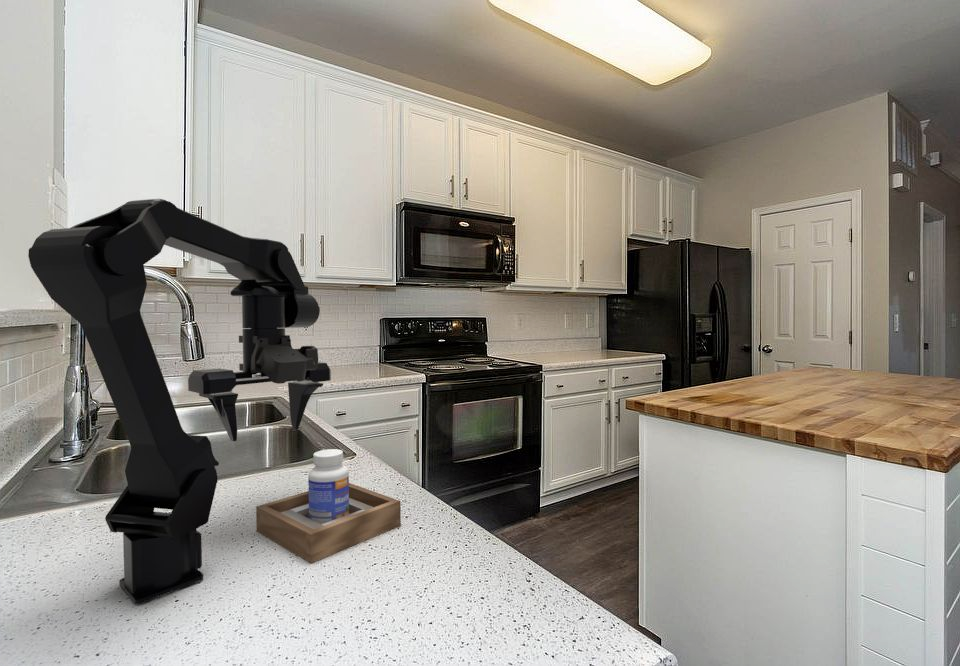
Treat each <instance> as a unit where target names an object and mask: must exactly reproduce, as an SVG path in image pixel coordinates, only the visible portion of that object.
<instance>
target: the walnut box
mask: <svg viewBox="0 0 960 666" xmlns="http://www.w3.org/2000/svg"><path fill="white" fill-rule="evenodd" d="M255 511H256V512H255V513H256V515H255V516H256V517H255V518H256V519H255V520H256V521H255V522H256V532H257V533H258V534H260V535H262V536H264V537H265V538H267V539H269V540H271V542H274V543H276V544H278V545H279V546H280V547H283V548H284V549H286V550H287V551H289V552H291V553H293V554H295V555H297V556H298V557H299V558H301V559H304V560H305V561H307V562H308V563H309V564H313V563H315V562H318V561H320V560H322V559H323V560H324V559H325V558H328V557H330V556H331V555H335V554H336V553H339V552H341V551H344V550H345V549H348V548H350V547H353V546H357V544H361V543H362V542H364V541H365V542H366V541H367V540H370V539H372V538H374V537H377V536H379V535H381V534H384V533H386V532H388V531H391V530H393V529H395V528H398V527H401V525H402V523H401V521H402V519H401V511H402V509H401V500H399V499H397V498H394V497H390V496H387V495H384V494H383V493H378V492H376V491H373V490H371V489H368V488H365V487H362V486H359V485H356V484H354V483H351V482H349V515H346V516H343V517H340V518H338V519H335V520H332V521H329V522H327V523H324V524H320V523H318V522H315V521H313V520H311V519H309V490H308V491H304V492H300V493H297V494H294V495H290V496H288V497H284V498H280V499H277V500H274V501H270V502H267V503H264V504H260V505H256V508H255Z"/></svg>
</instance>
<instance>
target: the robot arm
mask: <svg viewBox="0 0 960 666" xmlns="http://www.w3.org/2000/svg"><path fill="white" fill-rule="evenodd" d="M164 246H166V247H170V248H172V249H176V250H179V251H182V252H184V253H187V254H191V255H194V256H197V257H199V258H202V259H204V260H208V261H211V262H213V263H217V264H219V265H220V266H222V267H224V269H225V270H226V272H227V274H229V275H231V276H233V277H234V278H236V279H238V280H239V281H240V283H239V284H238V285H237V286H235V287H234V288H233V289H232V290H231V291H230V296H232V297H241V314H242V315H241V316H242V317H241V319H242V321H241V322H242V324H241V325H242V335H238V343H240V344H241V343H242V363H239V365H238V367H239V368H238V369H239V371H236V372H235V371H234V370H231V369H227V368H226V369H225V368H209V369H196V370H195V369H194V370H193V371H192V372H191V373H190V374H189V376H188V380H187V381H188V382H187V385H188V390H187V391H188V392H192V393H197V394H198V395H199V397H201V398H206V399H207V400H208V401H209V402H210V404H211V406H212V407H213V409H214V410H215V412H216V413H217V416H218V418H219V419H220V421H221V424H222V425H223V427H224V429H225V431H226V434H227V435H228V438H229V440H230V442H231V441H232V442H237V440H238V439H237V438H238V423H237V421H238V420H237V412H236V411H237V410H236V409H237V408H236V403H237V401H238V397H239V393H237V392H236V393H235V392H233V389H235V387H237V386H242V385H252V384H253V385H254V384H260V383H261V384H263V383H271V382H272V383H274V384H278V385H279V384H285V383H287V388H288V402H289V413H290V414H289V417H290V423H291V428H292V429H293V430H295V431H296V430H297V431H298V430H299V427H300V425H301V422H302V419H303V416H304V413H305V410H306V407H307V405H308V402H309V400H310V398H311V396H312V394H313V393H315V391H317V389H319V388H322V387H323V386H324V383H323V382H329V381H331V380H332V378H331V377H332V376H331V375H332V374H331V373H332V371H331V368H330V366H329V365H328V364H327V362H320V361H319V351H318V350H319V349H318V348H317V347H315V346H314V345H302V346H301V347H299V348H293V347H292V340H291V335H290V334H289V335H288V334H287V335H286V329H288V328H289V329H290V328H291V329H295V328H296V329H297V328H308V327H311V326H313V325H314V324H315V323H317V321H318V319H319V316H320V312H321V311H320V310H321V309H320V308H321V307H320V306H319V302H318V301H317V299H316V298H315V297H314V295H311V294H309V287H308V286H305V285H306V284H305V283H304V281H303V279H302V276H301V273H300V272H299V270H298V267H297V264H296V262H295V260H294V258H293V255H292V254H291V252H290V251H289V248H288V246H287V245H285V244H284V243H283V242H281V241H277V240H273V239H272V240H271V239H269V238H268V239H267V238H257V237H248V236H242V235H241V234H238V233H237V232H234V231H231V230H229V229H227V228H226V227H223V226H221V225H219V224H218V225H217V224H215V223H213V222H211V221H208V220H206V219H204V218H201V217H200V216H197V215H195V214H193V213H191V212H188V211H185V210H184V209H182V208H179V207H177V206H176V205H175V204H174V203H172V201H168V200H165V199H162V198H152V199H151V198H150V199H149V198H148V199H139V200H137V199H136V200H130V201H127V202H125V203H124V204H121V205H120V206H118V207H117V208H115V209H113V210H111V211H109V212H106V213H104V214H100V215H99V216H96V217H92V218H91V219H88V220H84V221H83V222H80V223H77V224H75V225H73V226H71V227H68V228H53V229H49V230H46V231H44V232H42V233H40V235H39V236H37V237H36V238H35V240H34V242H33V244H32V246H31V247H30V248H28V261H29V265H30V268H31V270H32V271H33V272H34V274H35V276H36V277H37V278H38V280H39V282H40V284H41V285H42V287H43V288H44V290H45V291H46V293H47V294H48V296H49V297H50V298H51V300H52V301H53V302H55V304H57V305H58V306H59V307H60V308H62V309H63V310H64V311H65V312H66V313H67V314H68V315H70V317H72V318H73V319H74V320H75V321H77V323H78V324H79V326H80V327H81V329H82V331H83V333H84V336H85V338H86V340H87V343H88V345H89V348H90V349H91V353H92V355H93V357H94V360H95V362H96V365H97V367H98V369H99V372H100V375H101V377H102V380H103V381H104V385H105V386H106V389H107V392H108V393H109V395H110V398H111V401H112V403H113V405H114V409H115V410H116V413H117V415H118V418H119V421H120V422H121V425H122V427H123V430H124V433H125V434H126V437H127V440H128V442H129V445H130V449H129V453H128V457H127V461H126V463H125V467H124V472H125V478H126V482H127V483H126V484H127V485H126V487H125V488H124V490H123V491H122V492H121V493H120V495H119V497H118V498H117V499H116V500H115V503H114V504H113V505H112V506H111V508H110V509H109V511H108V512H107V514H106V515H105V517H104V518H105V522H106V524H107V526H108V528H109V531H110V533H114V534H115V533H122V539H123V544H122V545H123V546H122V547H123V576H124V577H122V578H120V579H119V582H118V583H119V586H120V587H121V588H122V589H123V591H124V592H125V593H126V595H127V596H128V597H129V598H130V599H131V600H132V602H133V603H134V604H136V605H138V604H142V603H145V602H149V601H150V600H153V599H156V598H159V597H161V596H163V595H166V594H168V593H169V594H170V593H171V592H174V591H177V590H179V589H181V588H184V587H187V586H189V585H192V584H195V583H198V582H199V581H202V580H203V579H204V573H202V572H201V571H200V569H201V568H202V566H203V550H202V549H203V548H202V547H203V546H202V533H201V532H200V531H198V530H197V529H198V528H200V527H203V526H204V525H206V524H208V522H209V518H210V514H211V509H212V507H213V502H214V497H215V494H216V493H215V492H216V488H217V483H218V473H217V468H216V467H218V466H219V465H220V462H219V461H217V459H216V458H215V456H214V453H213V448H212V442H211V441H210V439H209V438H208V436H206V435H195V434H194V435H193V434H188V433H186V431H185V430H184V429H183V426H182V424H181V422H180V419H179V416H178V413H177V411H176V407H175V405H174V402H173V400H172V397H171V394H170V391H169V389H168V386H167V383H166V381H165V377H164V375H163V372H162V369H161V366H160V364H159V361H158V358H157V356H156V352H155V350H154V347H153V345H152V342H151V339H150V336H149V334H148V330H147V328H146V325H145V322H144V320H143V317H142V313H141V308H142V305H143V301H144V298H145V293H146V289H147V286H148V285H147V284H148V281H147V276H146V269H145V264H147V263H148V262H150V261H151V260H152V259H153V258H155V257H156V256H158V255H159V254H160V253H161V252H162V250H163V247H164ZM155 509H163V510H170V511H171V512H161V511H155Z"/></svg>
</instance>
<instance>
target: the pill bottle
mask: <svg viewBox="0 0 960 666" xmlns="http://www.w3.org/2000/svg"><path fill="white" fill-rule="evenodd" d="M312 459H313V460H312V463H313V465H314V467H313V468H311V469H310V470H309V472H308V480H307V481H308V482H307V483H308V491H309V519H311V520H313V521H315V522H318V523H320V524H324V523H327V522H329V521H332V520H335V519H338V518H340V517H343V516H346V515H349V483H350V481H349V479H350V478H349V476H350V475H349V468H348V467H347V466H345V465H344V464H342V463H343V462H344V459H345V458H344V452H343V450H342V449H336V448H335V449H333V448H328V449H321V450H318V451H315V452H314V453H313V457H312Z"/></svg>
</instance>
